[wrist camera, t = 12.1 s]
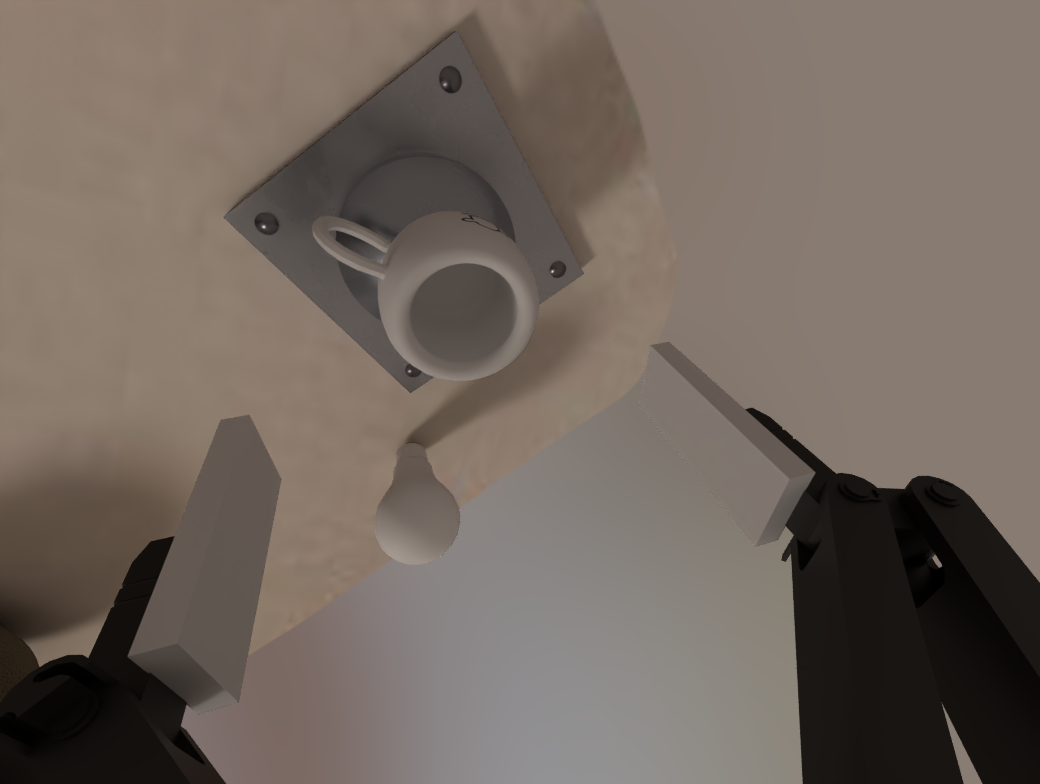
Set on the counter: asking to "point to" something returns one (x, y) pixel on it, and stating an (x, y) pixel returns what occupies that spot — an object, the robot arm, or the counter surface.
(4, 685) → the coconut
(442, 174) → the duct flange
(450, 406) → the counter surface
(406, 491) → the lightbulb
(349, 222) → the mug
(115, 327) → the counter surface
